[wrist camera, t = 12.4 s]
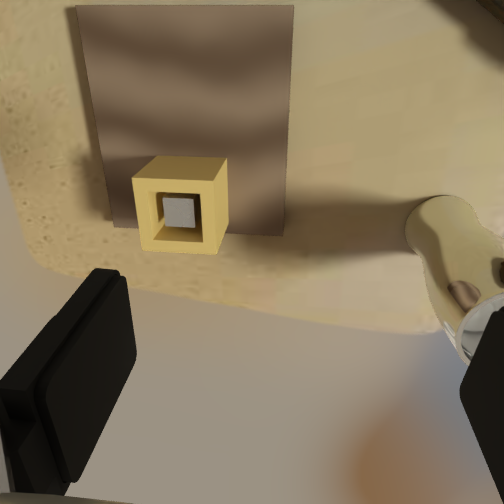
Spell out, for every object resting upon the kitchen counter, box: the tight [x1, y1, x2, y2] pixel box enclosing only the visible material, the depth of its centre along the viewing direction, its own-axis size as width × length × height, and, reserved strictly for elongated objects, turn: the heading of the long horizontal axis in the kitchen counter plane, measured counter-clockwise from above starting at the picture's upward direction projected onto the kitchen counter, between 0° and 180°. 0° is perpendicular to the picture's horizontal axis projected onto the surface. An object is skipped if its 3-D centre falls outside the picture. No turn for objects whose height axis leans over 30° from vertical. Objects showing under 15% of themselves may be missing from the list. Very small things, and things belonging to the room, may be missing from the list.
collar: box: [132, 156, 229, 255], centre depth 33 cm, size 6×6×6 cm
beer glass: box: [405, 196, 504, 366], centre depth 30 cm, size 7×7×15 cm
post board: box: [75, 5, 294, 236], centre depth 32 cm, size 18×16×6 cm
